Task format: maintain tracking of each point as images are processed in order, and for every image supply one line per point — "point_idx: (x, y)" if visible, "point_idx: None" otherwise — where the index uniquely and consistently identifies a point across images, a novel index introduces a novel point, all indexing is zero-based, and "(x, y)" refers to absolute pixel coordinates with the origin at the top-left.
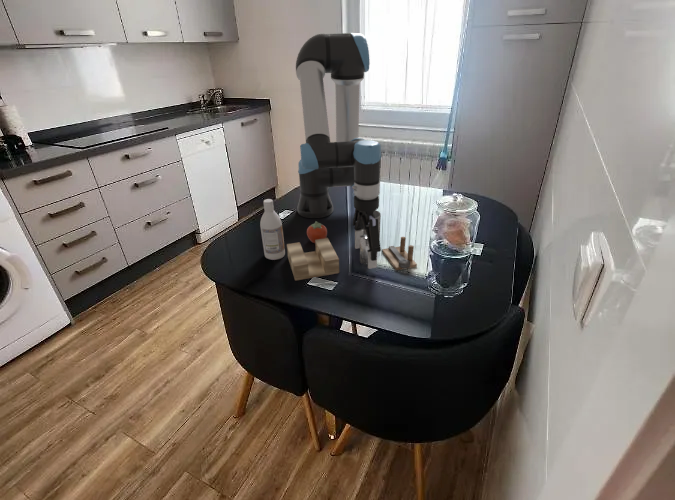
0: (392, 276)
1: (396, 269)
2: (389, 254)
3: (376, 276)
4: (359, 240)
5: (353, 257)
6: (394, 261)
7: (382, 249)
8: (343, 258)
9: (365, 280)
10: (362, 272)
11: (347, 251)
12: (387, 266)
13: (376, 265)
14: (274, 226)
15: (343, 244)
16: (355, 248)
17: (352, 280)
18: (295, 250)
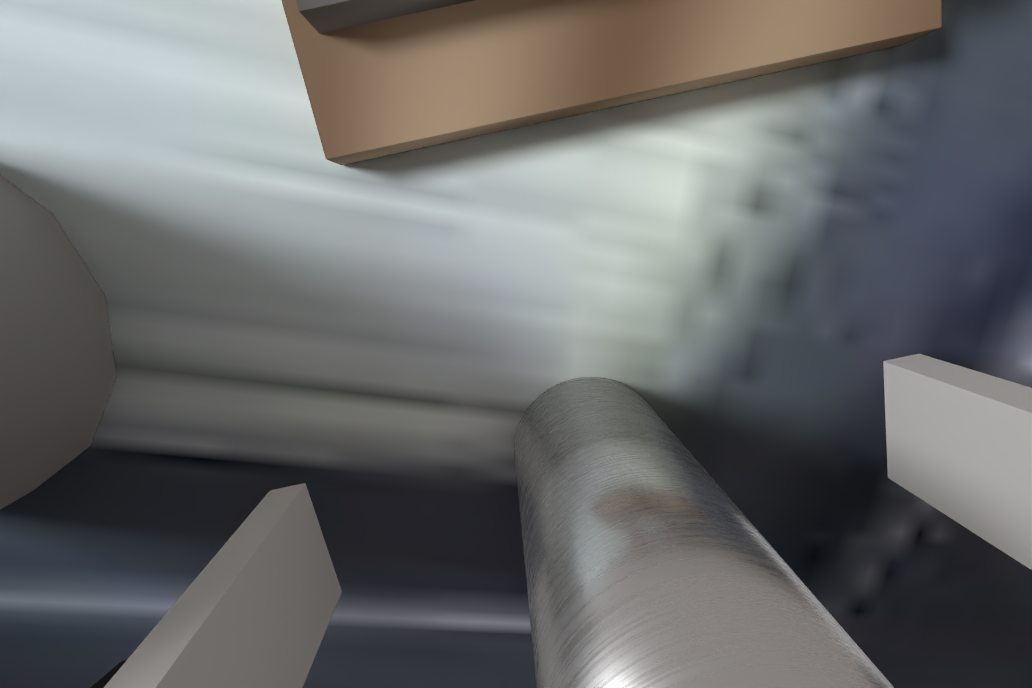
0: (1020, 138)
1: (915, 36)
2: (517, 58)
3: (955, 352)
4: (264, 654)
5: (475, 577)
6: (750, 16)
7: (336, 156)
8: (488, 684)
9: None
10: (828, 503)
11: None
12: (766, 160)
13: (951, 369)
14: None
15: None
16: (334, 593)
17: (950, 615)
18: None
